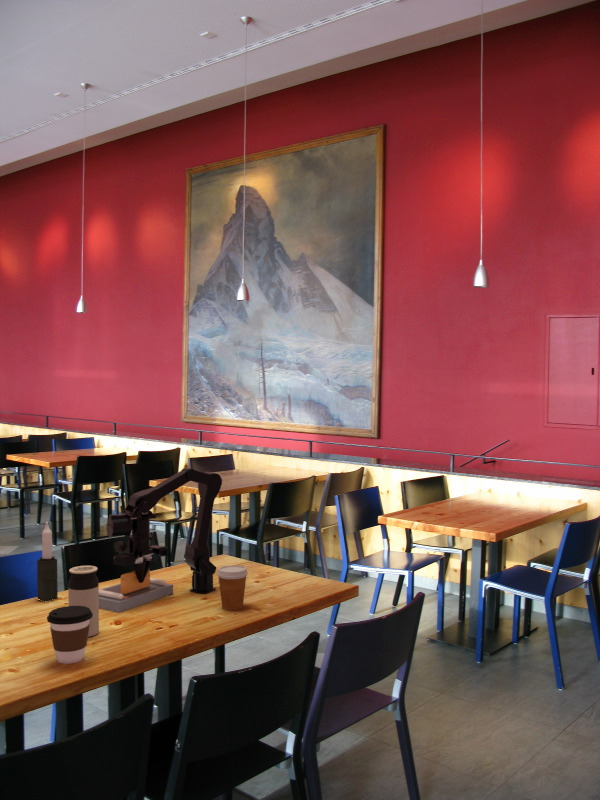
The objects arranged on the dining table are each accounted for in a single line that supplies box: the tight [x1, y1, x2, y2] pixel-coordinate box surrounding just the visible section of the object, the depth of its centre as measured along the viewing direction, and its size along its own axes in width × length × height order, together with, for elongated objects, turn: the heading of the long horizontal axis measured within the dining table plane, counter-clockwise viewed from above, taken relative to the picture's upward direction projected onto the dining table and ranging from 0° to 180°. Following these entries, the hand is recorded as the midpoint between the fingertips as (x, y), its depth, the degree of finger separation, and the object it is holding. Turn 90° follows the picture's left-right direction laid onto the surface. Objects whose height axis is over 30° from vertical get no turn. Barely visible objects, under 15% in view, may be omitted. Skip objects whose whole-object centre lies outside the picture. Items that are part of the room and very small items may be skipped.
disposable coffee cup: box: [216, 565, 249, 611], centre depth 227 cm, size 10×10×12 cm
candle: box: [36, 521, 59, 602], centre depth 237 cm, size 5×5×25 cm
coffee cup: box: [46, 605, 93, 665], centre depth 184 cm, size 11×11×12 cm
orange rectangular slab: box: [120, 568, 151, 594], centre depth 235 cm, size 2×11×6 cm, turn 148°
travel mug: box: [67, 565, 100, 638], centre depth 203 cm, size 8×8×18 cm
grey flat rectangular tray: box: [99, 577, 174, 613], centre depth 237 cm, size 16×24×5 cm, turn 148°
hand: (141, 582), depth 234 cm, fingers closed
